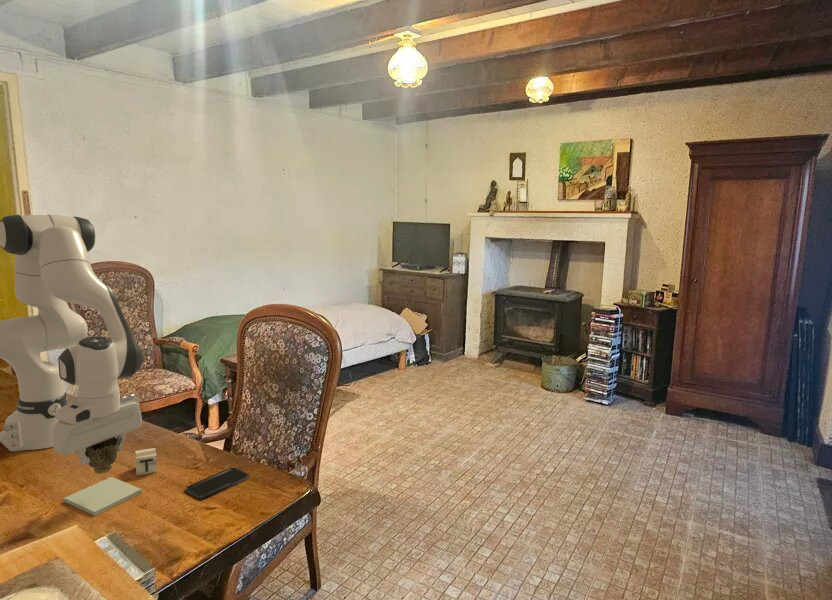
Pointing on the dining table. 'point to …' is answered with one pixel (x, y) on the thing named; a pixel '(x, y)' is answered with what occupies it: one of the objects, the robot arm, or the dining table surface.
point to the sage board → (102, 496)
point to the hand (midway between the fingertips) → (102, 457)
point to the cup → (102, 455)
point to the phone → (216, 483)
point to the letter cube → (146, 461)
